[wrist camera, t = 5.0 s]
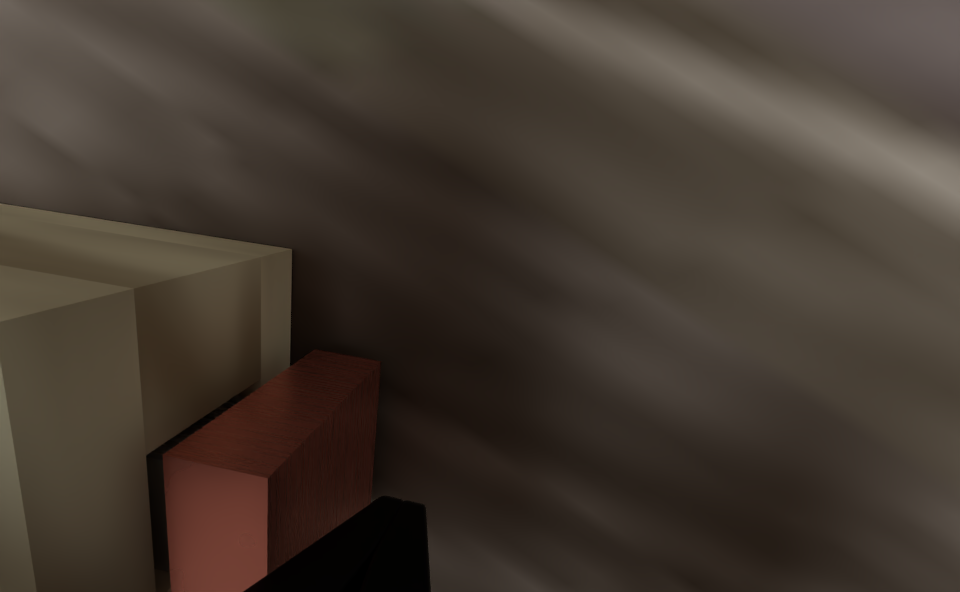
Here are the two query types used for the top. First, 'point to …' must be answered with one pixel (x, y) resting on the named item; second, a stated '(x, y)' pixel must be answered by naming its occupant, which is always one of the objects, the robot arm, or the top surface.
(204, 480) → the pin
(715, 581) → the top surface
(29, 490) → the block
